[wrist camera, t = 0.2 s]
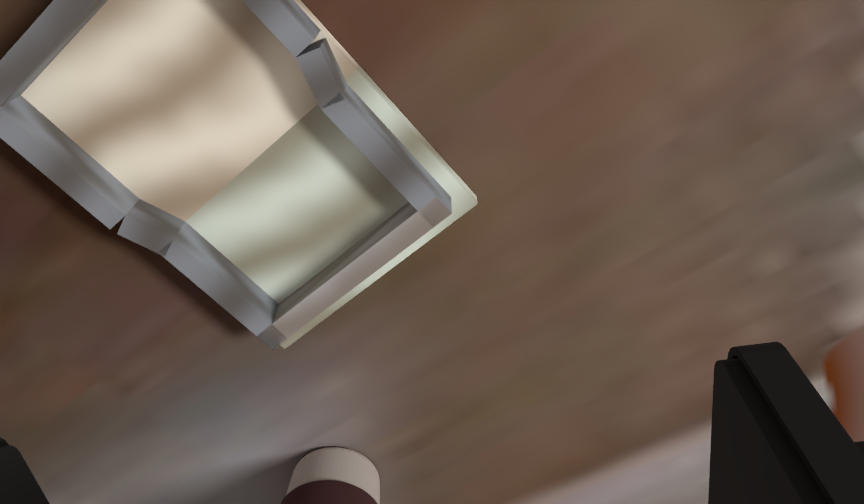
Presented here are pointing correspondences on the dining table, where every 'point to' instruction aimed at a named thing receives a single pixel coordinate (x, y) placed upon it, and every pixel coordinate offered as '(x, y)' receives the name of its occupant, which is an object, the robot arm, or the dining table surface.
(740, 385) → the robot arm
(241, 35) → the gray shallow tray
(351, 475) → the coffee cup
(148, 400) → the dining table surface
